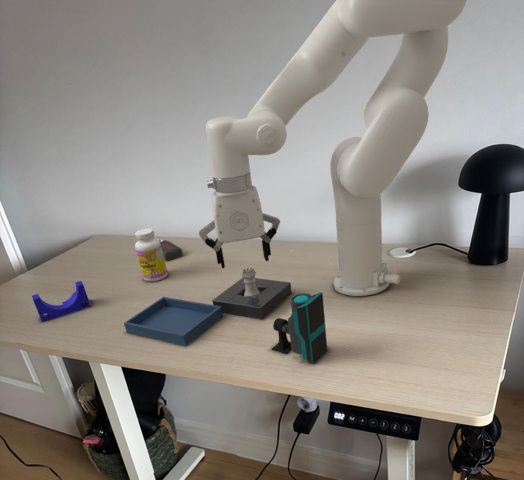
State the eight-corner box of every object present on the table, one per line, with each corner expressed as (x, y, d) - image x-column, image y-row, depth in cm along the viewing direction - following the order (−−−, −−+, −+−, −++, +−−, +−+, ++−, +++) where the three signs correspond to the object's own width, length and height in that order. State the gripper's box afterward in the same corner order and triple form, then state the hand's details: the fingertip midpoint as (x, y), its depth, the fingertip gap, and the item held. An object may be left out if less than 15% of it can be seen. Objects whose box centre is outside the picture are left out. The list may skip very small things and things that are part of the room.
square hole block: (292, 293, 120) (290, 282, 119) (262, 319, 111) (260, 308, 110) (245, 286, 127) (244, 276, 125) (214, 311, 118) (212, 300, 117)
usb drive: (166, 261, 150) (164, 252, 148) (152, 251, 159) (150, 242, 158) (183, 255, 152) (181, 246, 150) (168, 246, 161) (166, 237, 160)
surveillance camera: (277, 283, 97) (323, 291, 91) (285, 338, 103) (328, 349, 98) (259, 296, 93) (306, 305, 88) (268, 352, 100) (312, 364, 94)
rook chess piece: (263, 305, 117) (257, 272, 113) (243, 307, 117) (237, 275, 113) (263, 296, 121) (258, 264, 117) (244, 299, 121) (238, 267, 117)
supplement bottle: (139, 281, 139) (125, 236, 133) (152, 271, 144) (140, 226, 138) (160, 282, 137) (147, 236, 130) (172, 272, 142) (161, 226, 135)
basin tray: (223, 316, 115) (221, 306, 114) (186, 346, 106) (183, 335, 105) (165, 305, 124) (163, 296, 123) (126, 332, 115) (123, 322, 114)
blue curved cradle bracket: (87, 300, 134) (80, 278, 131) (90, 306, 130) (83, 284, 127) (39, 315, 130) (31, 293, 127) (42, 321, 126) (32, 299, 123)
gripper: (190, 194, 102) (206, 275, 110) (278, 181, 102) (286, 262, 111) (190, 185, 108) (205, 262, 117) (272, 172, 109) (280, 250, 118)
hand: (244, 262), depth 114 cm, fingers open, 9 cm apart
